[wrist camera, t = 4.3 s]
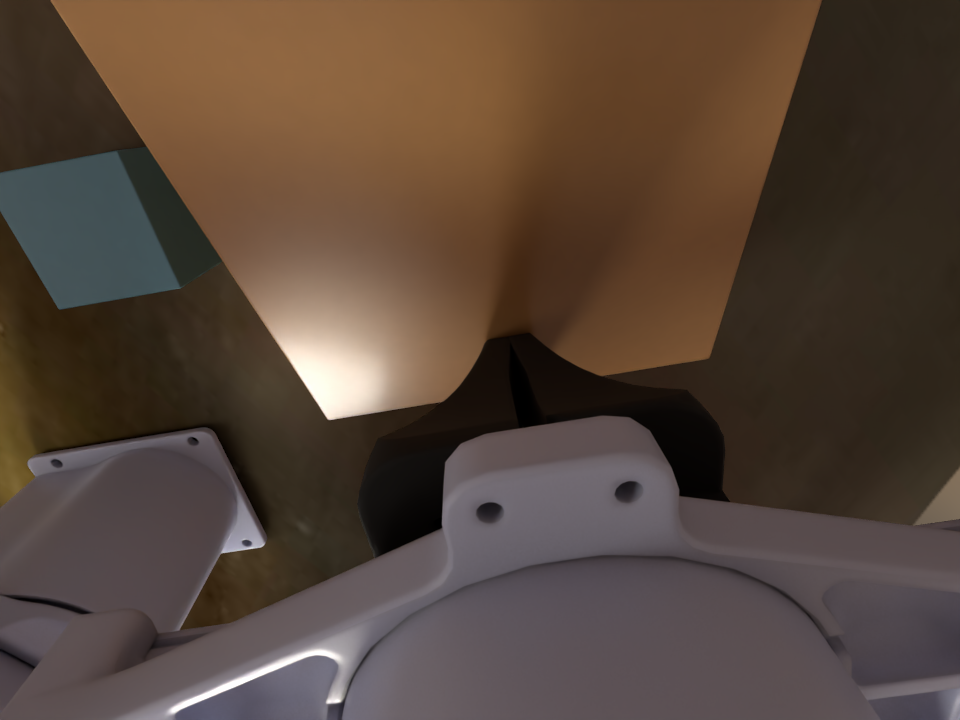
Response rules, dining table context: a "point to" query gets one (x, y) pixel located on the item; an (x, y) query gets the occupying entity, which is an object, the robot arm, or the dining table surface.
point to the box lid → (461, 169)
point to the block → (104, 227)
